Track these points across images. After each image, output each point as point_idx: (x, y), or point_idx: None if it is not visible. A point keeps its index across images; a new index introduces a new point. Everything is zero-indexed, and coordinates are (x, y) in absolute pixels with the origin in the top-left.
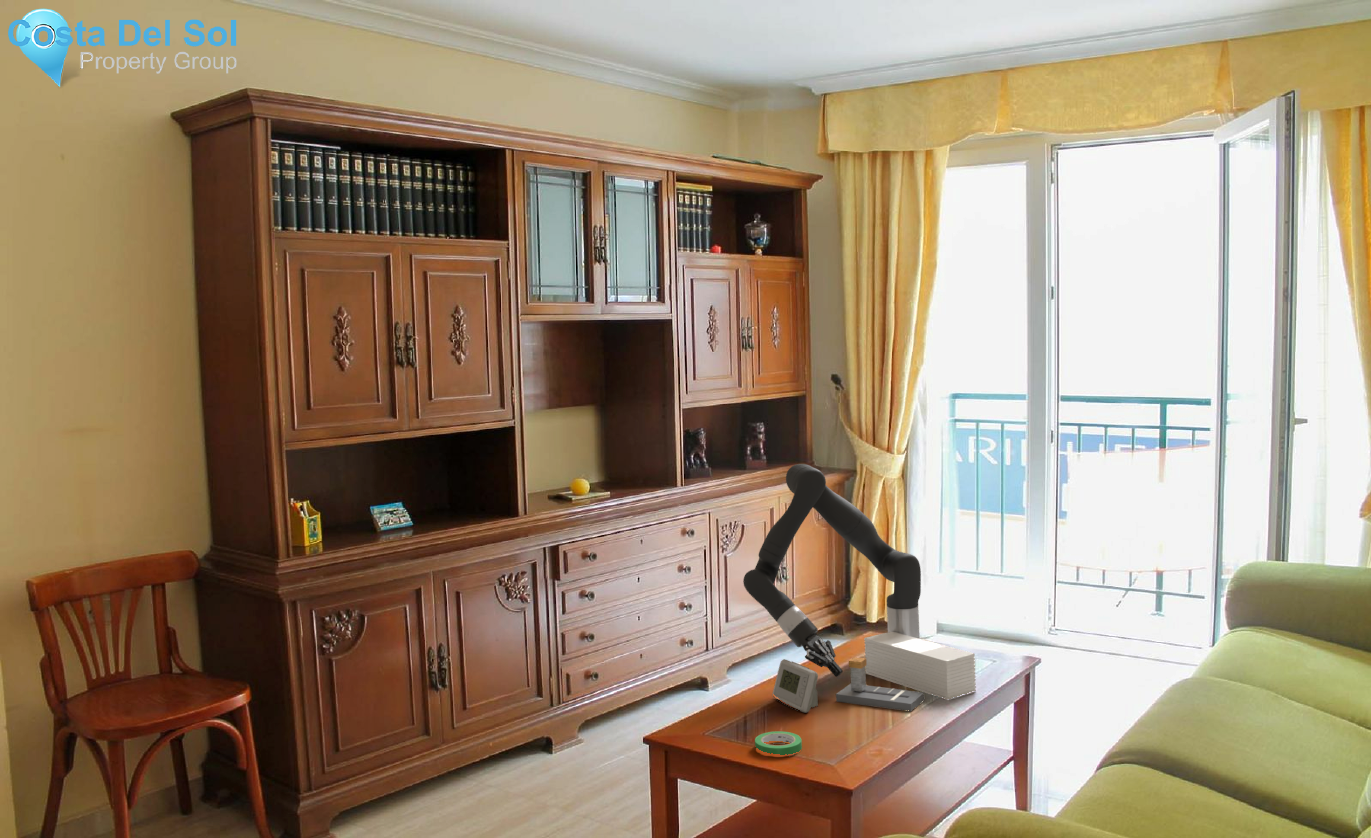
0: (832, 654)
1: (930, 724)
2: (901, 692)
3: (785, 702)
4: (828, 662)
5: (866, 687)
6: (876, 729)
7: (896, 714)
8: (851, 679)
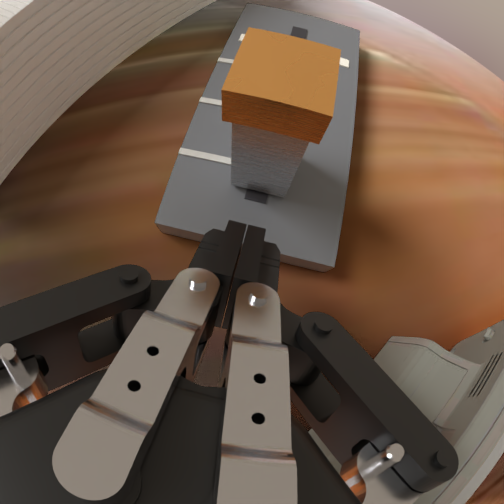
0: (140, 290)
1: (413, 32)
2: None
3: None
4: (283, 311)
5: (212, 144)
6: (491, 132)
7: (387, 76)
8: (295, 171)
